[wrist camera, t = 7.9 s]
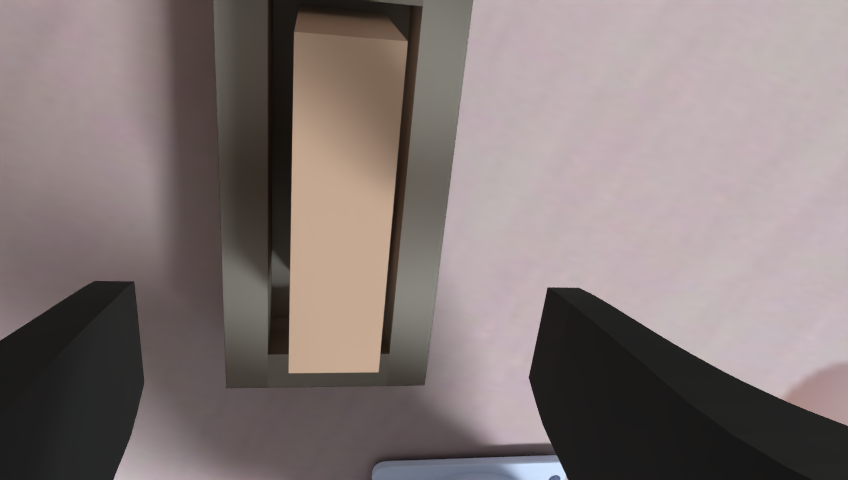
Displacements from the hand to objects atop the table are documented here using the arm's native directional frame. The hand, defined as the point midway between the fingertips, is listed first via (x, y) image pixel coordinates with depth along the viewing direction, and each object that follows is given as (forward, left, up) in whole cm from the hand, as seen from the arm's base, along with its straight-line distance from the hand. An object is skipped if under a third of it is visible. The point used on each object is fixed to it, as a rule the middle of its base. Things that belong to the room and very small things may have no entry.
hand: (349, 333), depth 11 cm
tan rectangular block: (+1, 0, -8) cm, 8 cm away
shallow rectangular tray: (0, 0, -9) cm, 9 cm away
